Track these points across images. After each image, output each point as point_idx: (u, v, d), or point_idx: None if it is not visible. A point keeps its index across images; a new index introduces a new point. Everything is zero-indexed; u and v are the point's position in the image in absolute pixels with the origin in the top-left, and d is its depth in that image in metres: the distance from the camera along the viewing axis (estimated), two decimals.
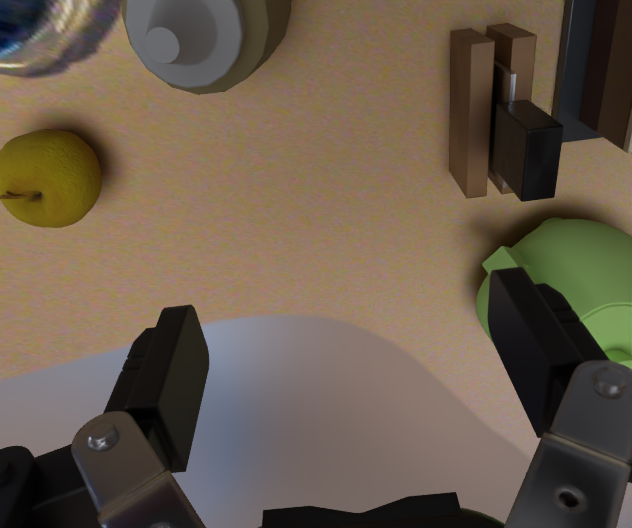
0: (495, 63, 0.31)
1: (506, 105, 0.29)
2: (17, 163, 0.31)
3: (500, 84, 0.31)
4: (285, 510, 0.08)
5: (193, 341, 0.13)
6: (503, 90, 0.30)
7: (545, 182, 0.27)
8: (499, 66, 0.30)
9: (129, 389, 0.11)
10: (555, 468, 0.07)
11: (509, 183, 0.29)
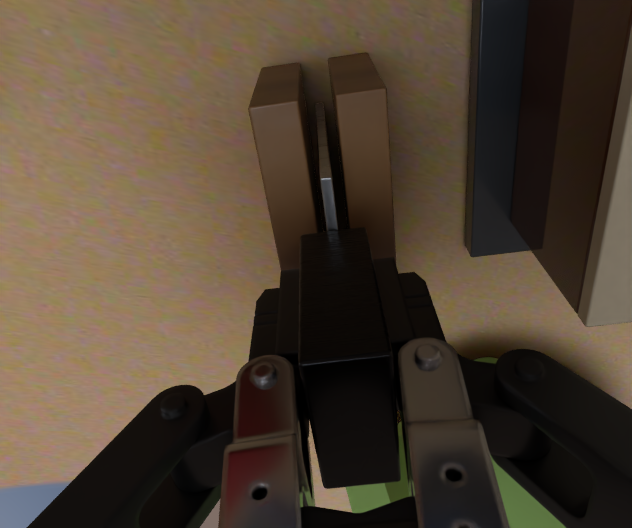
0: (319, 139, 0.15)
1: (313, 245, 0.13)
2: None
3: None
4: None
5: None
6: None
7: (371, 458, 0.11)
8: (319, 148, 0.15)
9: (267, 340, 0.12)
10: (430, 452, 0.08)
11: None
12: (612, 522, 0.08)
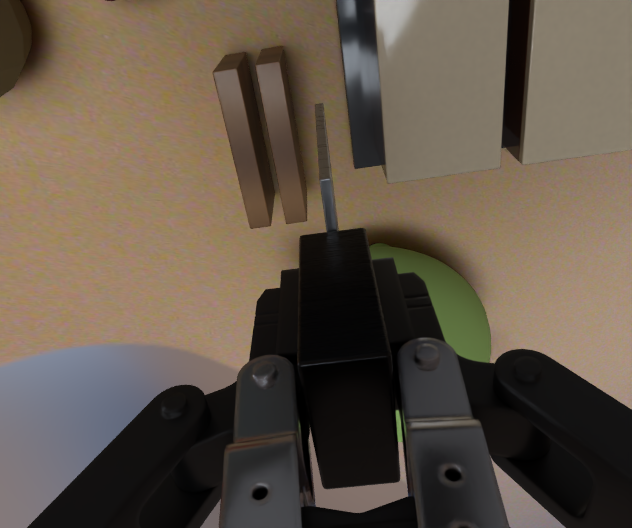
0: (318, 140, 0.15)
1: (312, 245, 0.13)
2: None
3: None
4: None
5: None
6: None
7: (370, 458, 0.11)
8: (318, 149, 0.15)
9: (267, 340, 0.12)
10: (430, 452, 0.08)
11: None
12: (611, 522, 0.08)
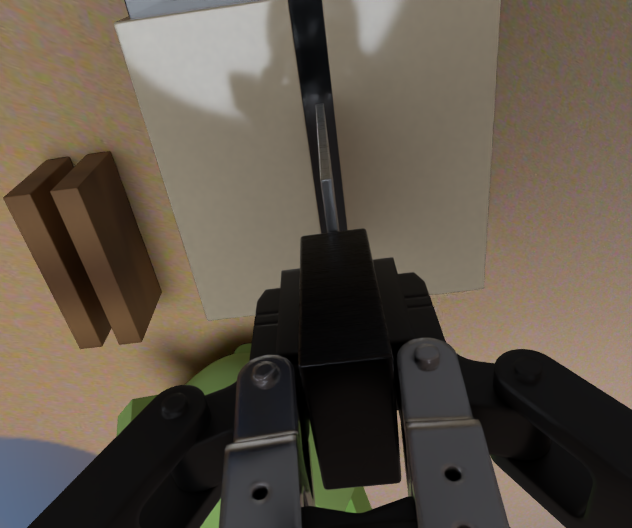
0: (319, 140, 0.15)
1: (313, 246, 0.13)
2: None
3: None
4: None
5: None
6: None
7: (371, 459, 0.11)
8: (319, 149, 0.15)
9: (268, 340, 0.12)
10: (430, 452, 0.08)
11: None
12: (611, 522, 0.08)
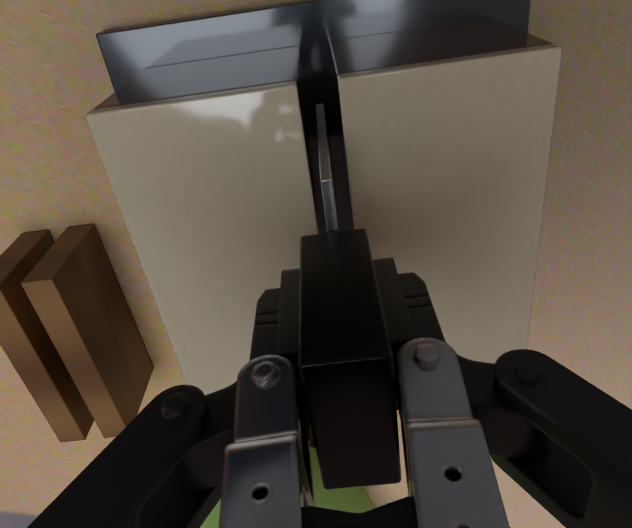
0: (319, 140, 0.15)
1: (313, 246, 0.13)
2: None
3: None
4: None
5: None
6: None
7: (371, 459, 0.11)
8: (319, 150, 0.15)
9: (268, 340, 0.12)
10: (430, 452, 0.08)
11: None
12: (611, 522, 0.08)
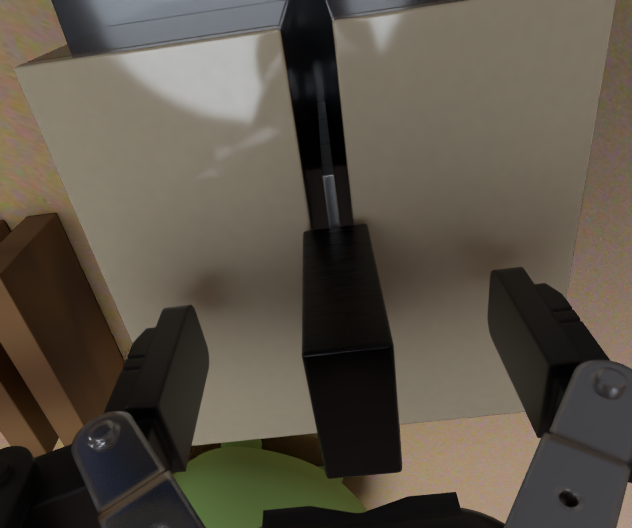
0: (321, 137, 0.16)
1: (315, 241, 0.13)
2: None
3: None
4: (285, 510, 0.08)
5: (193, 341, 0.13)
6: None
7: (373, 448, 0.11)
8: (321, 146, 0.15)
9: (130, 388, 0.11)
10: (555, 468, 0.07)
11: None
12: None
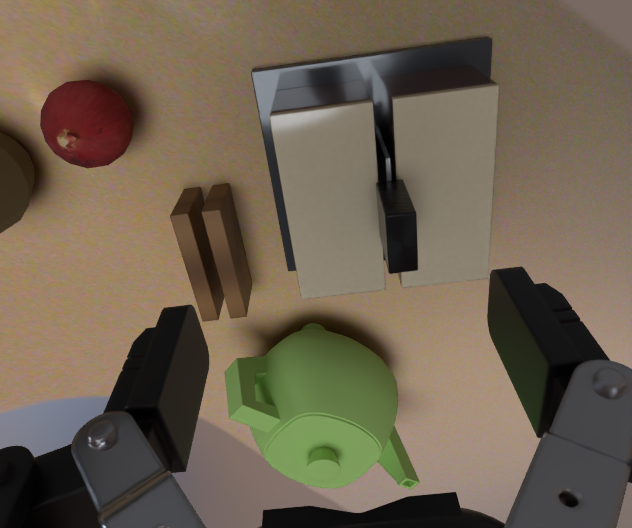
0: (380, 143, 0.35)
1: (382, 185, 0.33)
2: None
3: (383, 163, 0.34)
4: (284, 510, 0.08)
5: (193, 341, 0.13)
6: (384, 169, 0.34)
7: (407, 258, 0.30)
8: (382, 147, 0.34)
9: (130, 388, 0.11)
10: (555, 468, 0.07)
11: (384, 254, 0.33)
12: None
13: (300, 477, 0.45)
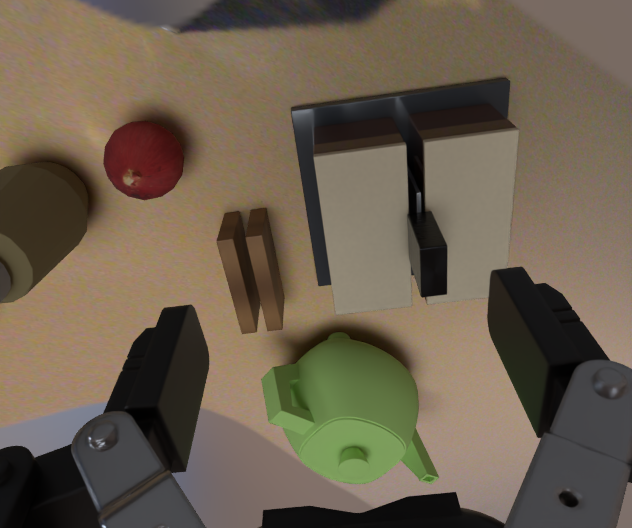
0: (410, 176, 0.39)
1: (413, 217, 0.36)
2: None
3: (412, 195, 0.38)
4: (285, 511, 0.08)
5: (193, 341, 0.13)
6: (414, 201, 0.38)
7: (438, 284, 0.34)
8: (411, 181, 0.38)
9: (129, 388, 0.11)
10: (555, 468, 0.07)
11: None
12: None
13: (331, 474, 0.49)
